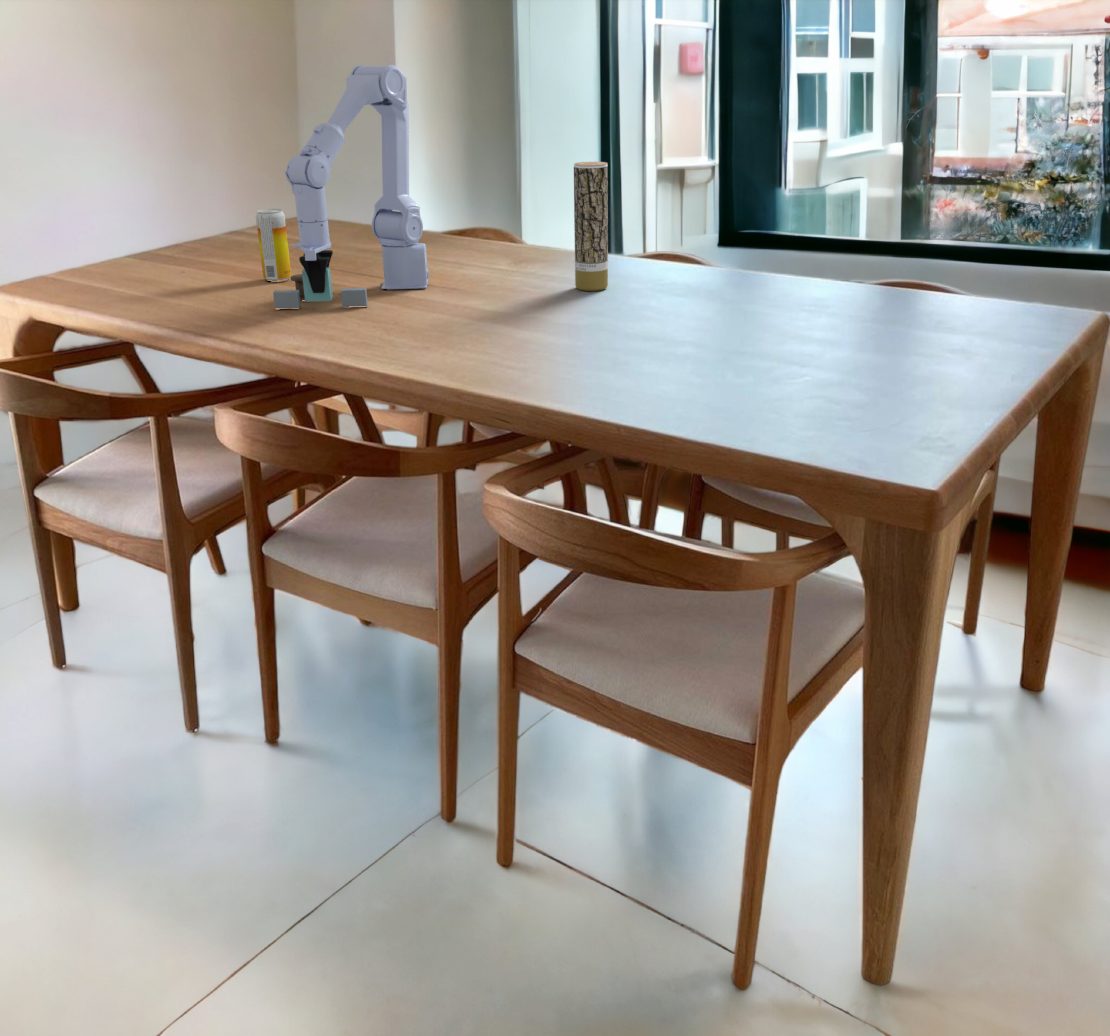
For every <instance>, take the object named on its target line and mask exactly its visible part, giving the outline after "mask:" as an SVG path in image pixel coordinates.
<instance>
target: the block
mask: <svg viewBox="0 0 1110 1036" xmlns="http://www.w3.org/2000/svg"><path fill="white" fill-rule="evenodd" d="M301 274H302V277H303V287H304V296H305V302H304V303H308V302H331V301H332V300H333V288H332V287H333V286H332V278H331V277H332V276H331V267H330V266H329V267H326V274H325V290H324V293H313V291H312V288H311V285H310V282H309V279H308V276H307V273H306V271H305V269H304V268H303V269H302V271H301Z"/></svg>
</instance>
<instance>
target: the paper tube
mask: <svg viewBox="0 0 1110 1036" xmlns="http://www.w3.org/2000/svg"><path fill="white" fill-rule="evenodd" d="M608 167H609V166H608V162H606V161H580V162H579V161H578V162H574V163H573V215H574V216H573V217H574V218H573V219H574V224H573V225H574V227H573V230H574V272H575V273H574V275H575V276H574V279H575V281H574V283H575V284H574V285H575V286H574V287H576V289H577V290H579V291H585V292H597V291H603V290H605V289H607V288H608V285H609V279H608V277H609V273H608V272H609V271H608V269H609V238H608V237H609V232H608V231H609V230H608V229H609V225H608V223H609V217H608V216H609V214H608V213H609V207H608V206H609V203H608V202H609V199H608V198H609V197H608V196H609V189H608V188H609V186H608V185H609V182H608V180H609V179H608V177H609V175H608V174H609V173H608V171H609V169H608Z"/></svg>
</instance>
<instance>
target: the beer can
mask: <svg viewBox="0 0 1110 1036" xmlns="http://www.w3.org/2000/svg"><path fill="white" fill-rule="evenodd" d="M255 221H256V228H257V237H258V246H259V253H260V261H261V269H262V277H263V279H264V280H265V279H266V280H272V281H277V280H283V279H288V278H289V279H291V278H290V277H291V276H292V269H291V260H290V252H289V251H290V250H289V242H288V240H289V239H288V234H287V233H288V232H287V225H286V215H285V213H284V212H283V209H281V208H264V209H258V210H257V211H256V215H255ZM266 280H265V281H266Z"/></svg>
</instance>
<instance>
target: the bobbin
mask: <svg viewBox="0 0 1110 1036" xmlns="http://www.w3.org/2000/svg"><path fill="white" fill-rule="evenodd" d="M289 279H290V281H292V282H294V286H295V290H299V294H300V301H302V300H305V296H304V287H303V277H302V273H298V274H293V275H291V277H290V278H289Z"/></svg>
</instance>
